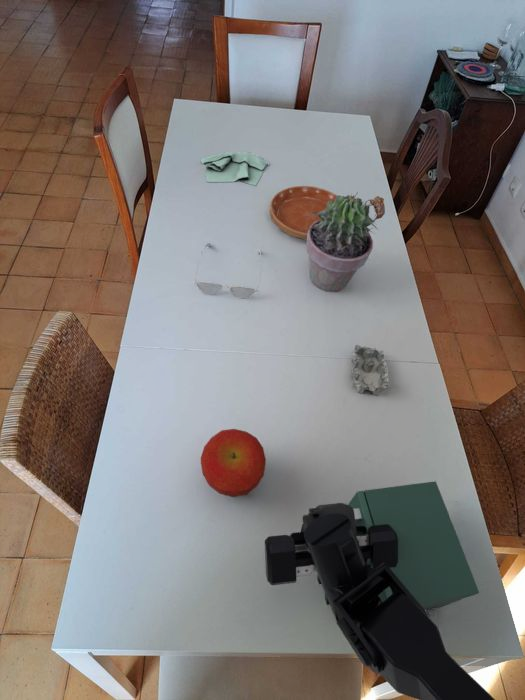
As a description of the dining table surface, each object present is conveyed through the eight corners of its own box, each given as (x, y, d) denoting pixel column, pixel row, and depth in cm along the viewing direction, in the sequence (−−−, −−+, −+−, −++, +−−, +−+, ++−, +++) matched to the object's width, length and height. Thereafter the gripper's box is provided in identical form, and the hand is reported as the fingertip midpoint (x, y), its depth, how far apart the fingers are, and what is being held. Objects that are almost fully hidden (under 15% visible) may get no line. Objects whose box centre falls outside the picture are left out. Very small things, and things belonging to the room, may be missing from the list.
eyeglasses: (193, 292, 109) (193, 280, 106) (205, 244, 120) (205, 231, 117) (257, 300, 110) (258, 289, 106) (263, 251, 120) (264, 239, 117)
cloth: (275, 162, 147) (276, 155, 145) (246, 196, 134) (247, 189, 133) (219, 143, 151) (219, 136, 149) (186, 175, 138) (185, 167, 136)
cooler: (371, 619, 71) (398, 607, 61) (344, 516, 80) (364, 490, 70) (441, 607, 73) (479, 592, 63) (407, 507, 82) (435, 481, 72)
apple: (255, 516, 79) (261, 491, 69) (194, 503, 79) (192, 477, 70) (265, 457, 86) (273, 427, 76) (209, 446, 86) (210, 415, 76)
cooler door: (318, 628, 69) (337, 617, 59) (298, 522, 79) (311, 497, 69) (369, 619, 71) (396, 607, 61) (343, 516, 80) (363, 490, 70)
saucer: (254, 224, 127) (255, 213, 124) (291, 186, 140) (293, 175, 137) (327, 257, 122) (330, 246, 119) (359, 214, 135) (362, 204, 132)
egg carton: (383, 398, 96) (389, 388, 93) (348, 391, 96) (353, 381, 93) (383, 358, 103) (389, 347, 99) (350, 352, 103) (355, 341, 100)
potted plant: (279, 258, 119) (293, 172, 100) (347, 251, 124) (374, 167, 104) (299, 308, 109) (319, 223, 89) (372, 299, 114) (408, 216, 94)
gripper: (417, 518, 57) (373, 471, 73) (271, 533, 55) (257, 482, 70) (417, 600, 58) (373, 537, 74) (274, 618, 56) (260, 549, 72)
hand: (317, 525), depth 72 cm, fingers open, 4 cm apart
